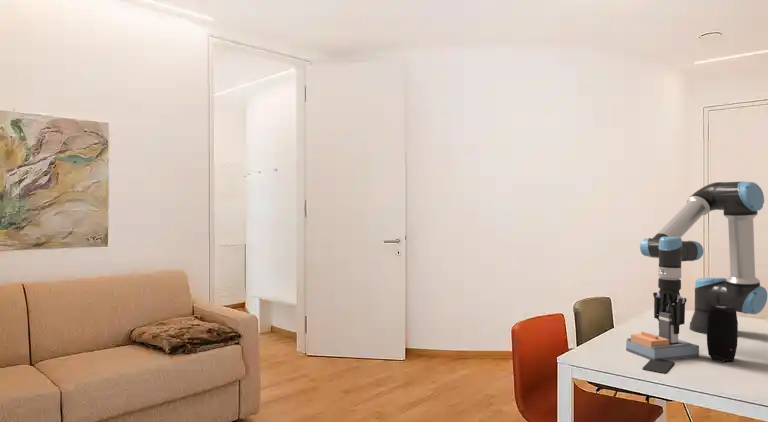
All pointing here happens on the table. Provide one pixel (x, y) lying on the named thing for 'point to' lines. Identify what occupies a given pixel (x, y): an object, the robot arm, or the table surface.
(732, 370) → the table surface
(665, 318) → the grey bottle-shaped block
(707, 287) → the robot arm
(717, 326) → the portable speaker
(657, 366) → the phone
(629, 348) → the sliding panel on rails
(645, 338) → the panel
